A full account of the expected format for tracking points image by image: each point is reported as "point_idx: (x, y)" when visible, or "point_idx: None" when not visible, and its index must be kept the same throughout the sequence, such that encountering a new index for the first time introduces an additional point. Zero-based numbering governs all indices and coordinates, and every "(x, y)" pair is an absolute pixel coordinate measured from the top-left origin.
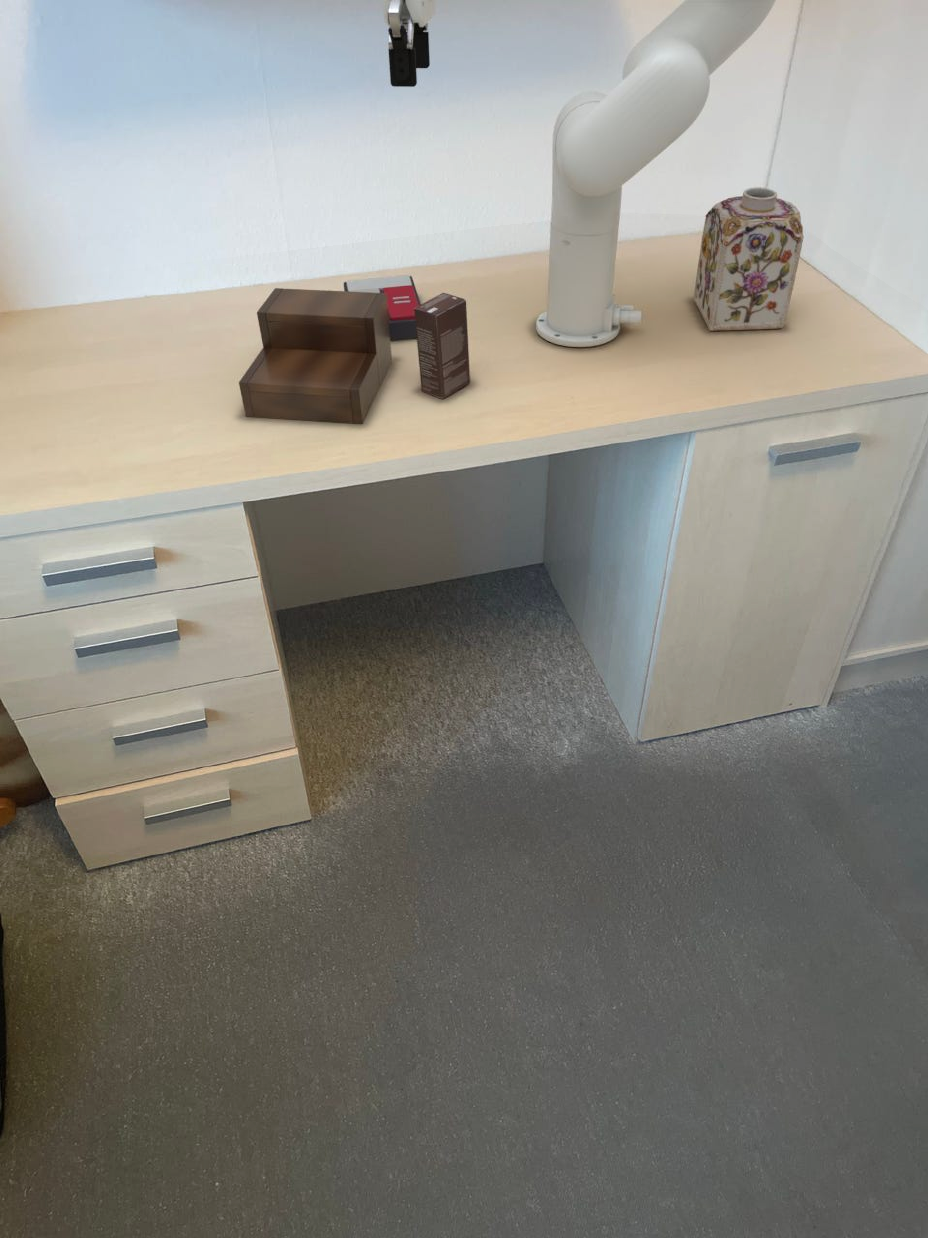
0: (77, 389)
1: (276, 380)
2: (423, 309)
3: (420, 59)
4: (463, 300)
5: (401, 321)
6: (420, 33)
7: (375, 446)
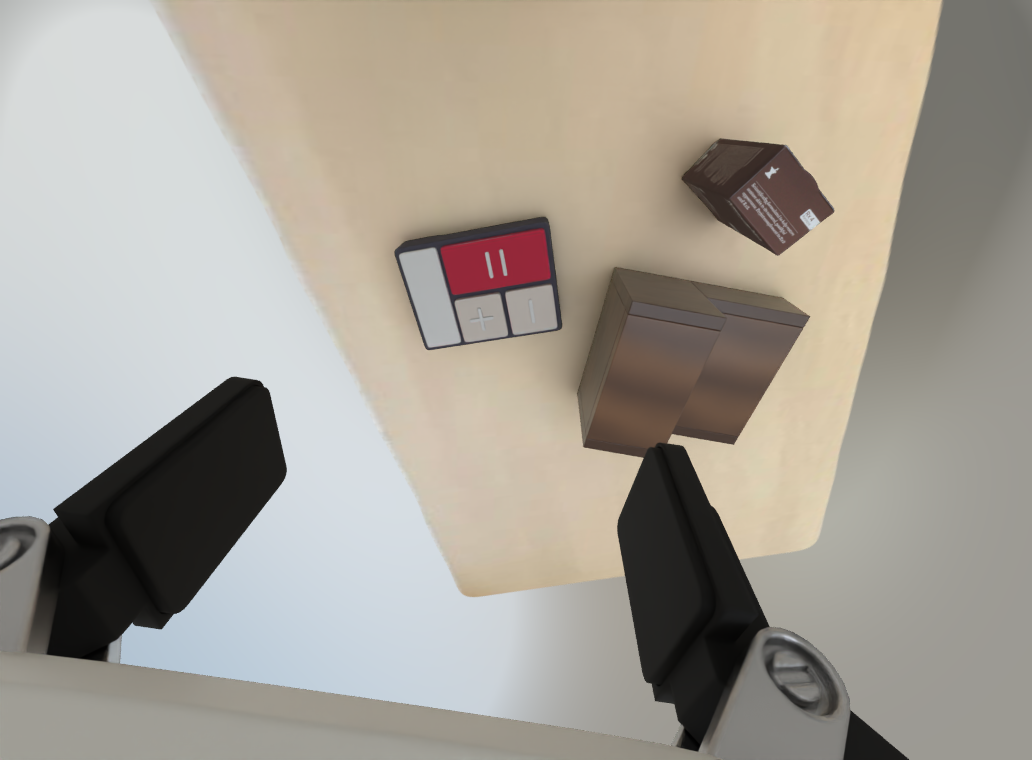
0: None
1: (744, 410)
2: (797, 237)
3: (253, 439)
4: (790, 151)
5: (553, 260)
6: (119, 546)
7: (846, 279)
